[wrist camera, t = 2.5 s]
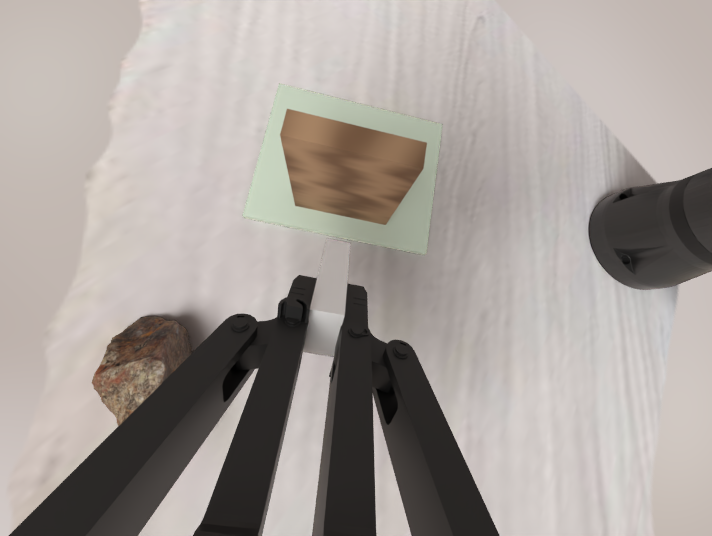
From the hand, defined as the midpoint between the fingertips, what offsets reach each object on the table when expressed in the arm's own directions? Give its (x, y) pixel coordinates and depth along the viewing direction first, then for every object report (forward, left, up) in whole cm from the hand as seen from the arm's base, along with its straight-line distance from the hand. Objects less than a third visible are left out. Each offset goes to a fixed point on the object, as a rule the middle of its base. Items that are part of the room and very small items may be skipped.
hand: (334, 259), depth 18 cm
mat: (0, -17, -18) cm, 25 cm away
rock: (+16, +13, -18) cm, 28 cm away
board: (0, -11, -17) cm, 20 cm away
